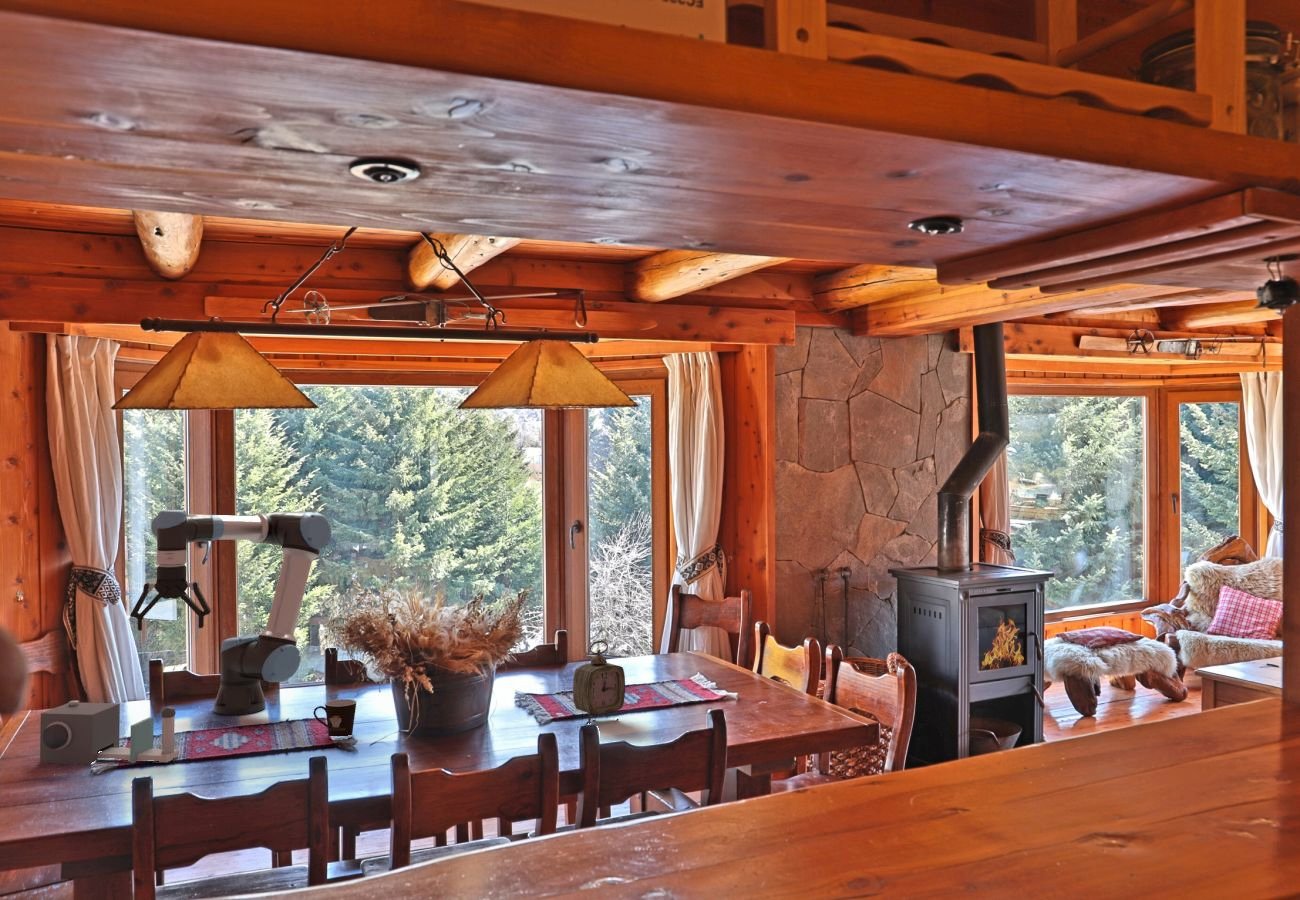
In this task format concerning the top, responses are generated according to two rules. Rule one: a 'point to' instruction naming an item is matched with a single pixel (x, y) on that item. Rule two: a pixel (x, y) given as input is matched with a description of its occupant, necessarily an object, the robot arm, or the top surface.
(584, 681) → the tabletop clock
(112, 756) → the battery sled
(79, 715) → the camera body
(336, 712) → the coffee mug
